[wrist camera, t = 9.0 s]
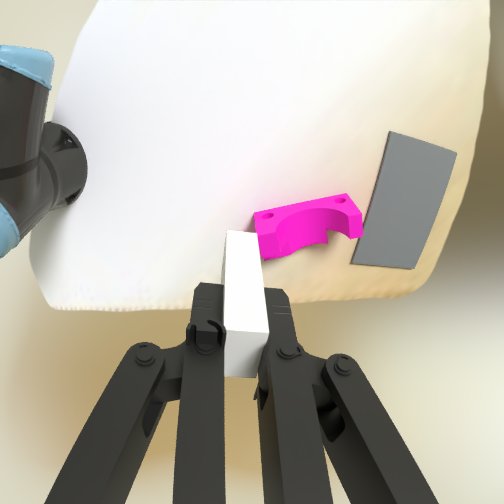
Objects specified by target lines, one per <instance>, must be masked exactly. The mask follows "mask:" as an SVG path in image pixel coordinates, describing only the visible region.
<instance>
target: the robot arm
mask: <svg viewBox="0 0 504 504" xmlns="http://www.w3.org/2000/svg"><path fill="white" fill-rule="evenodd" d="M53 68H54V58H53V56H52V55H51V54H50V53H49V52H47V51H43V50H38V49H32V48H26V47H17V46H8V45H0V258H2V257H4V256H5V255H6V254H7V253H8V252H9V251H10V250H11V249H13V248H14V247H16V246H17V245H18V244H19V242H20V241H21V240H22V239H23V237H24V236H25V235H26V234H27V233H28V232H29V231H30V230H31V229H32V228H33V227H34V226H35V225H36V224H37V223H38V222H39V221H40V219H41V218H42V217H43V216H44V215H45V214H46V213H47V212H48V211H51V210H54V209H58V208H61V207H65V206H67V205H69V204H71V203H72V202H74V201H75V200H76V199H77V198H78V197H79V195H80V194H81V192H82V191H83V189H84V186H85V183H86V180H87V160H86V155H85V152H84V149H83V147H82V145H81V143H80V142H79V140H78V139H77V137H76V136H75V135H74V134H73V133H72V132H71V131H70V130H69V129H67V128H66V127H64V126H62V125H59V124H56V123H51V121H49V122H45V123H44V119H45V112H46V106H47V100H48V95H49V90H51V88H52V86H51V79H52V74H53ZM68 136H70V137H71V138H72V142H68ZM73 193H76V196H73V195H72V194H73ZM257 373H258V379H259V382H258V386H257V388H256V391H255V394H254V400H256V399H257V404H258V420H259V434H260V449H261V463H262V477H263V491H264V504H333V499H332V494H331V488H330V481H329V476H328V470H327V464H326V459H325V453H324V447H325V450H326V452H327V454H328V456H329V458H330V460H331V462H332V465H333V467H334V469H335V471H336V473H337V475H338V477H339V479H340V482H341V484H342V486H343V488H344V490H345V492H346V494H347V496H348V499H349V501H350V503H351V504H439V503H438V501H437V499H436V498H435V496H434V494H433V492H432V491H431V489H430V487H429V485H428V483H427V481H426V479H425V478H424V476H423V474H422V473H421V471H420V469H419V467H418V465H417V463H416V462H415V460H414V458H413V457H412V455H411V453H410V451H409V450H408V448H407V446H406V444H405V442H404V441H403V439H402V437H401V435H400V434H399V432H398V430H397V429H396V427H395V425H394V423H393V422H392V420H391V419H390V417H389V415H388V413H387V412H386V410H385V408H384V407H383V405H382V403H381V402H380V400H379V398H378V396H377V395H376V393H375V391H374V390H373V388H372V387H371V385H370V383H369V381H368V380H367V378H366V376H365V375H364V373H363V372H362V370H361V368H360V367H359V365H358V363H357V362H356V361H355V360H354V359H353V358H351V357H350V356H348V355H345V354H334V355H332V356H330V357H329V358H328V359H327V360H326V359H322V358H319V357H315V356H313V355H310V354H308V353H307V352H305V351H304V349H303V347H302V346H301V345H300V344H299V343H298V342H297V337H296V332H295V327H294V322H293V318H292V315H291V308H290V303H289V298H288V296H287V295H286V293H285V292H284V291H283V290H282V289H276V288H264V286H263V278H262V270H261V261H260V253H259V245H258V237H257V233H250V232H241V231H232V230H227V233H226V241H225V249H224V257H223V265H222V273H221V284H212V283H202V282H200V284H199V285H198V286H197V287H196V288H195V290H194V297H193V304H192V311H191V319H190V323H189V324H188V326H187V328H186V340H185V341H184V342H183V343H182V344H180V345H178V346H176V347H173V348H168V349H160V347H159V346H157V345H155V344H153V343H148V342H142V343H137V344H135V345H133V346H132V347H130V349H129V350H128V351H127V352H126V354H125V356H124V357H123V359H122V361H121V362H120V364H119V366H118V367H117V369H116V371H115V372H114V374H113V376H112V378H111V379H110V381H109V383H108V385H107V386H106V388H105V390H104V392H103V393H102V395H101V397H100V399H99V400H98V402H97V404H96V405H95V407H94V409H93V411H92V413H91V415H90V416H89V418H88V420H87V422H86V423H85V425H84V427H83V429H82V431H81V433H80V434H79V436H78V438H77V440H76V442H75V444H74V446H73V448H72V450H71V451H70V453H69V455H68V457H67V459H66V461H65V463H64V465H63V467H62V469H61V471H60V473H59V475H58V477H57V479H56V481H55V483H54V485H53V487H52V489H51V491H50V493H49V495H48V497H47V499H46V501H45V503H44V504H125V502H126V499H127V497H128V495H129V492H130V490H131V487H132V485H133V482H134V480H135V478H136V475H137V473H138V470H139V468H140V465H141V463H142V461H143V458H144V456H145V453H146V451H147V449H148V446H149V444H150V442H151V439H152V437H153V435H154V432H155V430H156V427H157V425H158V423H159V420H160V418H161V416H162V413H163V411H164V409H165V406H166V404H167V402H169V401H174V400H180V405H179V416H178V428H177V440H176V453H175V468H174V484H173V504H226V497H225V441H224V439H225V438H224V376H226V377H243V378H256V376H257ZM323 445H324V447H323Z"/></svg>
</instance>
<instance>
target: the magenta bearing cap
mask: <svg viewBox="0 0 504 504" xmlns="http://www.w3.org/2000/svg"><path fill="white" fill-rule="evenodd" d="M254 218H255V229H256V233H257V237H258V245H259V249H260V253H261V256H262V258H264V261H265V260H269V259H274V258H279V257H283V256H288V255H291V254H292V253H293V252H295V251H296V250H298V249H300V248H302V247H305V246H308V245H312V244H317V243H328V239H327V231H326V230H333V231H337V232H340V233H343V234H345V235H346V236H347V237H349V238H350V239H354V238H358V237H363V224H362V213H361V212H360V210H359V209H358V208H357V206H356V205H355V204H354V202H353V201H352V200H351V198H350V197H349V196H348V194H347V193H345V194H340V195H335V196H330V197H325V198H320V199H315V200H311V201H306V202H301V203H296V204H292V205H287V206H282V207H278V208H273V209H269V210H264V211H260V212H255V213H254Z"/></svg>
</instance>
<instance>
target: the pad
mask: <svg viewBox="0 0 504 504" xmlns="http://www.w3.org/2000/svg"><path fill="white" fill-rule="evenodd" d="M456 156H457V153H456V152H454V151H451V150H448V149H445V148H443V147H440V146H437V145H434V144H431V143H428V142H425V141H422V140H418V139H415V138H412V137H409V136H405V135H402V134H399V133H395V132H392V131H390V132H389V136H388V140H387V144H386V148H385V152H384V156H383V160H382V163H381V167H380V171H379V174H378V178H377V181H376V185H375V188H374V192H373V195H372V199H371V202H370V205H369V209H368V212H367V215H366V218H365V221H364V225H363V237H359V240H358V243H357V246H356V249H355V252H354V255H353V258H352V260H351V262H352V263H355V264H366V265H377V266H388V267H399V268H410V269H415V266H416V264H417V262H418V260H419V257H420V255H421V253H422V250H423V248H424V246H425V243H426V241H427V238H428V236H429V234H430V231H431V229H432V226H433V223H434V221H435V218H436V216H437V213H438V210H439V208H440V205H441V202H442V199H443V196H444V194H445V191H446V188H447V185H448V182H449V179H450V176H451V172H452V169H453V166H454V163H455V159H456Z"/></svg>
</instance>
